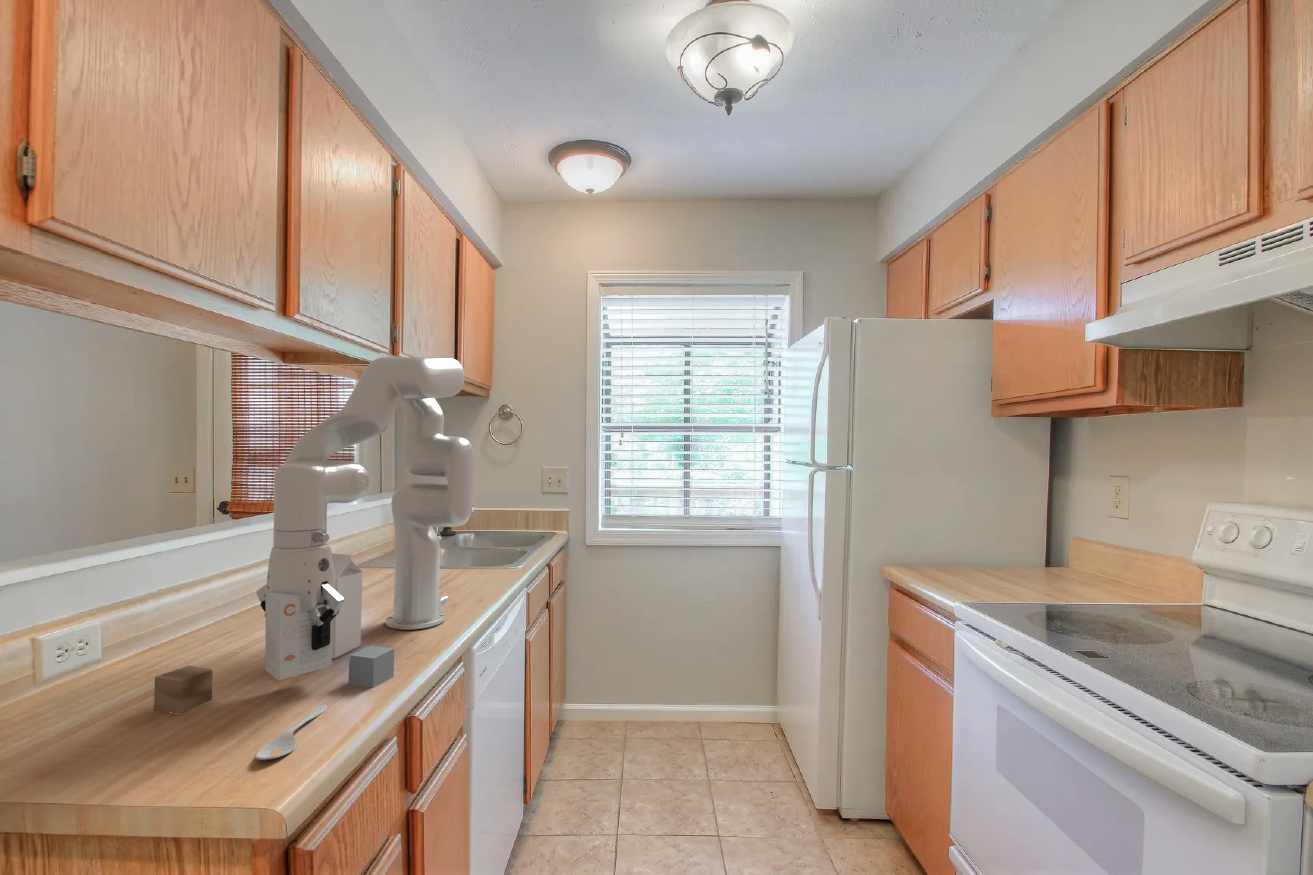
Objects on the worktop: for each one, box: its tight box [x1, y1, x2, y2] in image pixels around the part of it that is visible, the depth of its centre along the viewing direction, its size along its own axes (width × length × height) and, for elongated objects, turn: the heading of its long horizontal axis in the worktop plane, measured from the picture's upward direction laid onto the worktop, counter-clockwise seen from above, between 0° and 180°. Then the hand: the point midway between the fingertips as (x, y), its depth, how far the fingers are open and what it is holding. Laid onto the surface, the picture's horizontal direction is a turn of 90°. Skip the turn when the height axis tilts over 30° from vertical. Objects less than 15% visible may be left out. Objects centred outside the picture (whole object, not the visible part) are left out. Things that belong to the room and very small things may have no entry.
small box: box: [264, 592, 333, 681], centre depth 98 cm, size 8×6×13 cm
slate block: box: [348, 644, 395, 688], centre depth 103 cm, size 5×5×5 cm
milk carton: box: [332, 553, 363, 659], centre depth 116 cm, size 7×7×19 cm
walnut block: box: [153, 665, 214, 715], centre depth 92 cm, size 5×5×5 cm
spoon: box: [254, 704, 328, 761], centre depth 86 cm, size 4×21×2 cm, turn 6°
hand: (298, 643), depth 98 cm, fingers closed on small box, 8 cm apart
